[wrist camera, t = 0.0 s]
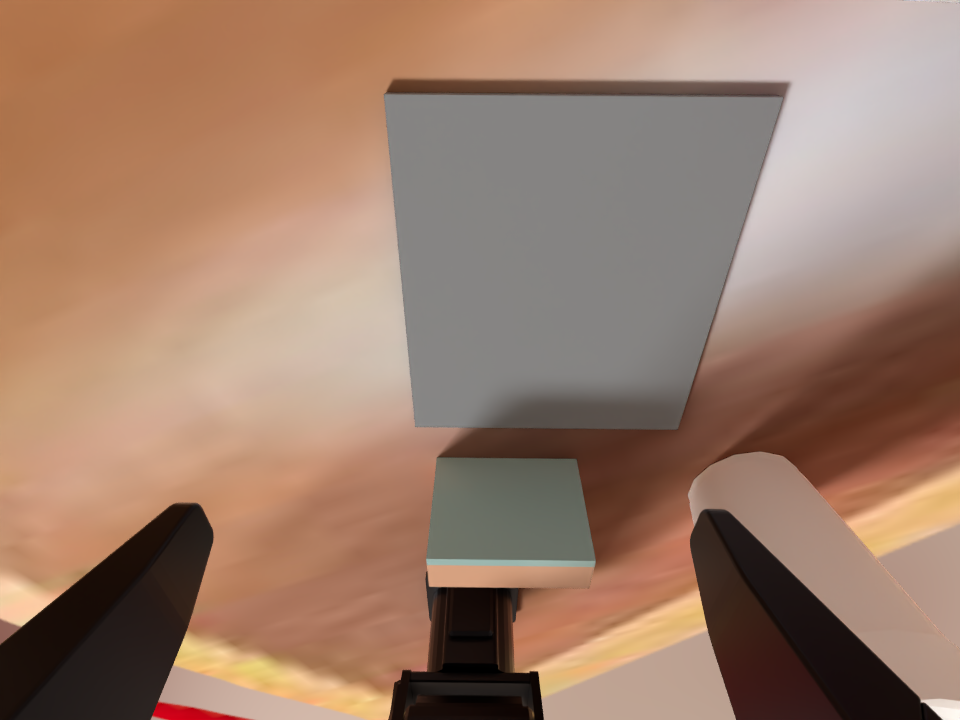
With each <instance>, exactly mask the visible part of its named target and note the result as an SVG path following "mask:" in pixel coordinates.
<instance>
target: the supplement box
mask: <svg viewBox="0 0 960 720" xmlns="http://www.w3.org/2000/svg"><path fill="white" fill-rule="evenodd" d="M905 1H929V2H949V3H960V0H905Z"/></svg>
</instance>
